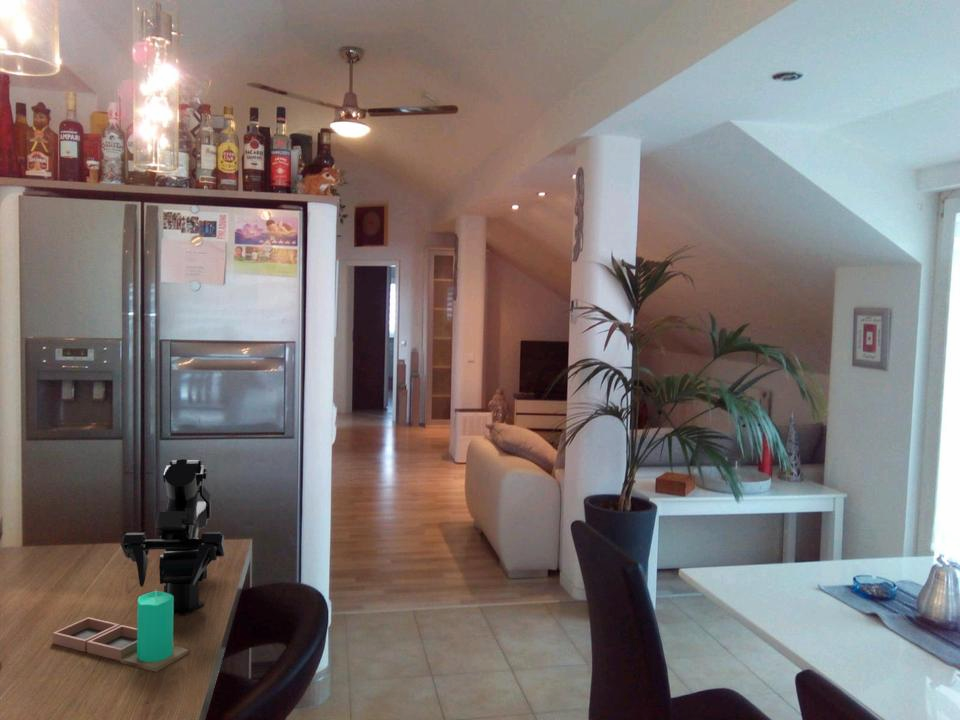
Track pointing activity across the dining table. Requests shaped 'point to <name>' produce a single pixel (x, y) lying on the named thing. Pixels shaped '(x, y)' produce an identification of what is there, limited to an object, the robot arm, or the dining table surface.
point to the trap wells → (98, 638)
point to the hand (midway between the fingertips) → (166, 585)
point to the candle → (155, 626)
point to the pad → (154, 665)
